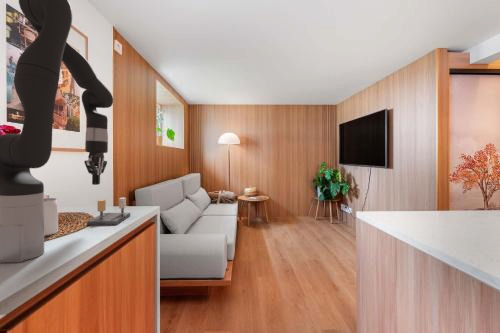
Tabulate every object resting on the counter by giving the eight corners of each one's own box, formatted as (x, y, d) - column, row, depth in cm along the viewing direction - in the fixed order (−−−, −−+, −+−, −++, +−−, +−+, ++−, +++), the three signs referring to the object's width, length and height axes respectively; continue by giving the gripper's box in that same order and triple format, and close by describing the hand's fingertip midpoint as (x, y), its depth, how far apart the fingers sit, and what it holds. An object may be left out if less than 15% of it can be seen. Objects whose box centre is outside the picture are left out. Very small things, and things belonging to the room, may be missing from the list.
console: (116, 224, 99) (116, 221, 99) (87, 225, 98) (87, 221, 98) (130, 215, 114) (130, 212, 114) (104, 216, 113) (104, 212, 113)
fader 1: (102, 217, 104) (102, 200, 103) (97, 217, 103) (97, 200, 103) (105, 215, 106) (105, 199, 106) (100, 215, 106) (100, 199, 106)
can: (62, 231, 90) (62, 198, 89) (46, 237, 83) (46, 201, 83) (46, 230, 90) (46, 197, 90) (28, 236, 84) (28, 200, 83)
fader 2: (123, 213, 110) (123, 198, 110) (118, 213, 110) (119, 198, 110) (125, 212, 113) (126, 197, 113) (121, 212, 113) (121, 197, 112)
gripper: (98, 139, 91) (97, 186, 92) (114, 142, 104) (113, 183, 105) (76, 138, 91) (75, 185, 91) (95, 141, 104) (94, 183, 104)
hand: (96, 184), depth 98 cm, fingers closed
